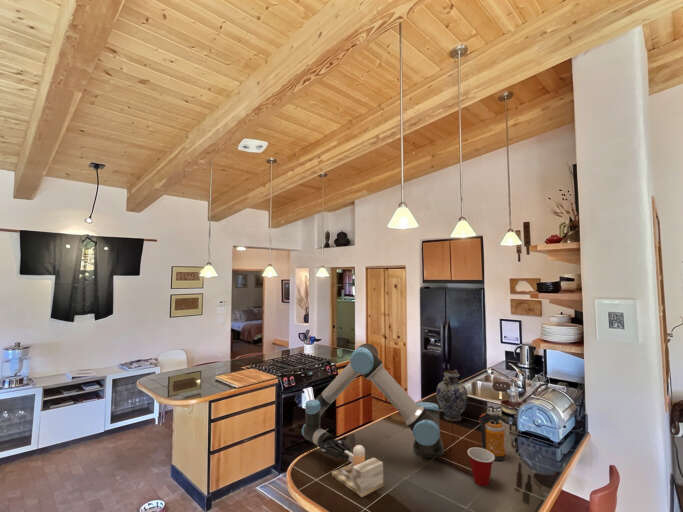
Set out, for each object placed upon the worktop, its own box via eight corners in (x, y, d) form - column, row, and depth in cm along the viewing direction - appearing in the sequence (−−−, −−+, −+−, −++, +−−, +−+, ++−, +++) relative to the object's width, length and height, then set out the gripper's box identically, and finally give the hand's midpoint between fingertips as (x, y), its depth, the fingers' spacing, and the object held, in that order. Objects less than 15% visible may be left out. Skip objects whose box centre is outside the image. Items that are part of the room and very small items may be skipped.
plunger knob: (350, 477, 150) (350, 445, 151) (360, 473, 154) (359, 441, 154) (358, 483, 146) (358, 449, 147) (368, 478, 149) (367, 445, 150)
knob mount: (331, 475, 155) (331, 453, 156) (352, 466, 163) (352, 445, 163) (361, 497, 140) (361, 472, 140) (383, 485, 147) (382, 462, 148)
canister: (507, 462, 164) (506, 418, 166) (482, 460, 166) (481, 416, 168) (503, 453, 173) (501, 411, 174) (479, 451, 175) (477, 409, 177)
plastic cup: (488, 493, 141) (487, 462, 142) (463, 482, 149) (462, 453, 150) (500, 482, 148) (499, 453, 149) (476, 472, 156) (474, 444, 157)
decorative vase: (443, 409, 231) (442, 365, 233) (472, 415, 220) (471, 370, 222) (431, 420, 214) (430, 373, 215) (462, 427, 203) (461, 378, 204)
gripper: (334, 444, 175) (366, 463, 156) (312, 452, 167) (343, 473, 148) (334, 428, 175) (366, 446, 157) (312, 435, 167) (342, 455, 149)
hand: (354, 459), depth 152 cm, fingers closed
